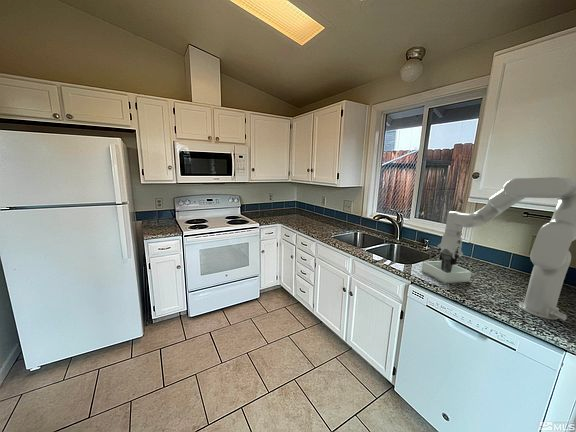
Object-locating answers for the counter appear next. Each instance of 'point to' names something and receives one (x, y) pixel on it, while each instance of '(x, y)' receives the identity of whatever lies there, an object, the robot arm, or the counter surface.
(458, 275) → the bin
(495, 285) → the counter surface
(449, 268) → the beverage cup
